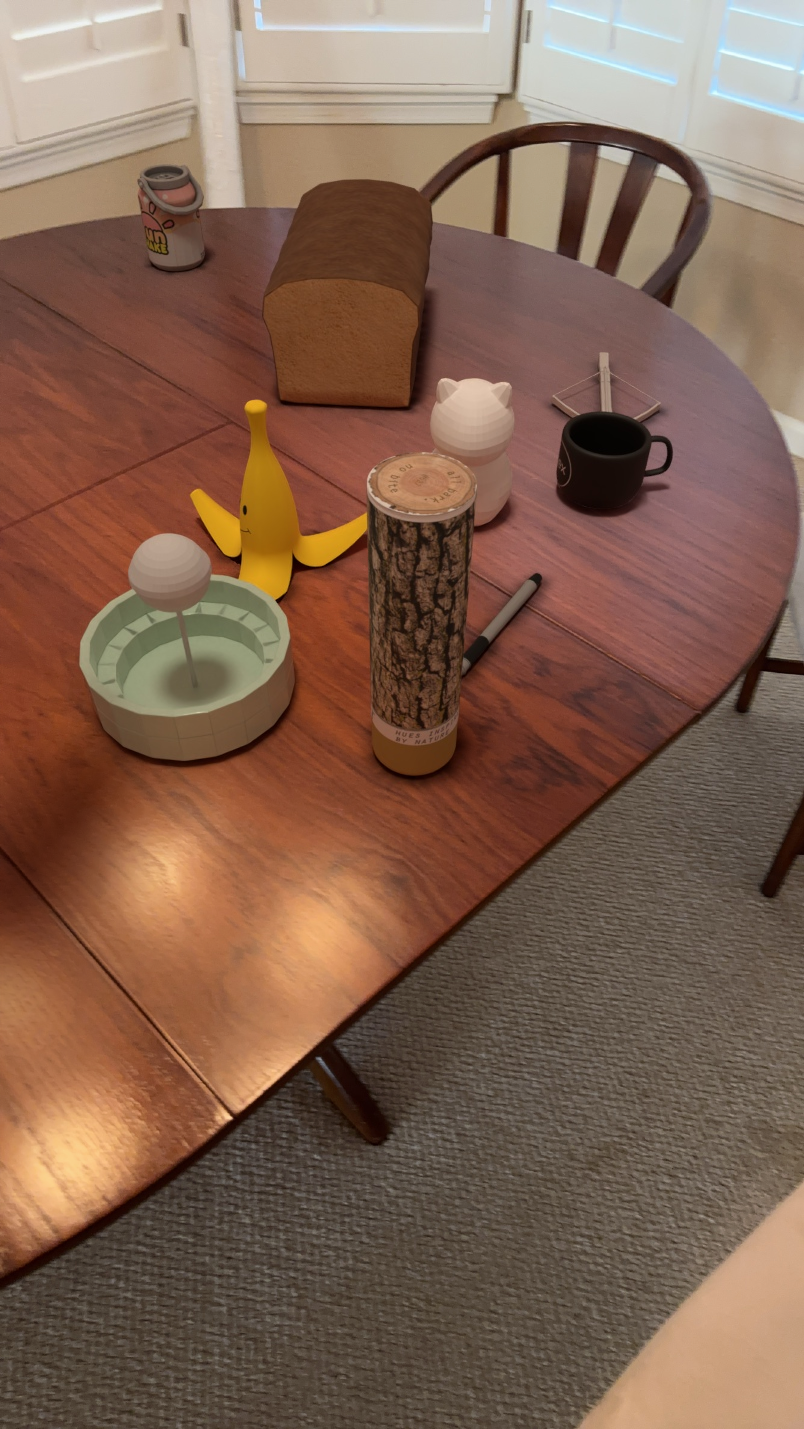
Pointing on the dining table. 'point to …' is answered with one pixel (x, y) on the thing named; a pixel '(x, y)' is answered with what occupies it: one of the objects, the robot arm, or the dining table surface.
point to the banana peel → (269, 519)
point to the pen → (500, 621)
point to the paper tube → (418, 605)
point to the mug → (605, 459)
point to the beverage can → (171, 216)
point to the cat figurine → (477, 437)
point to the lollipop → (171, 578)
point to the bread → (350, 295)
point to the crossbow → (604, 391)
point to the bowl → (156, 680)
